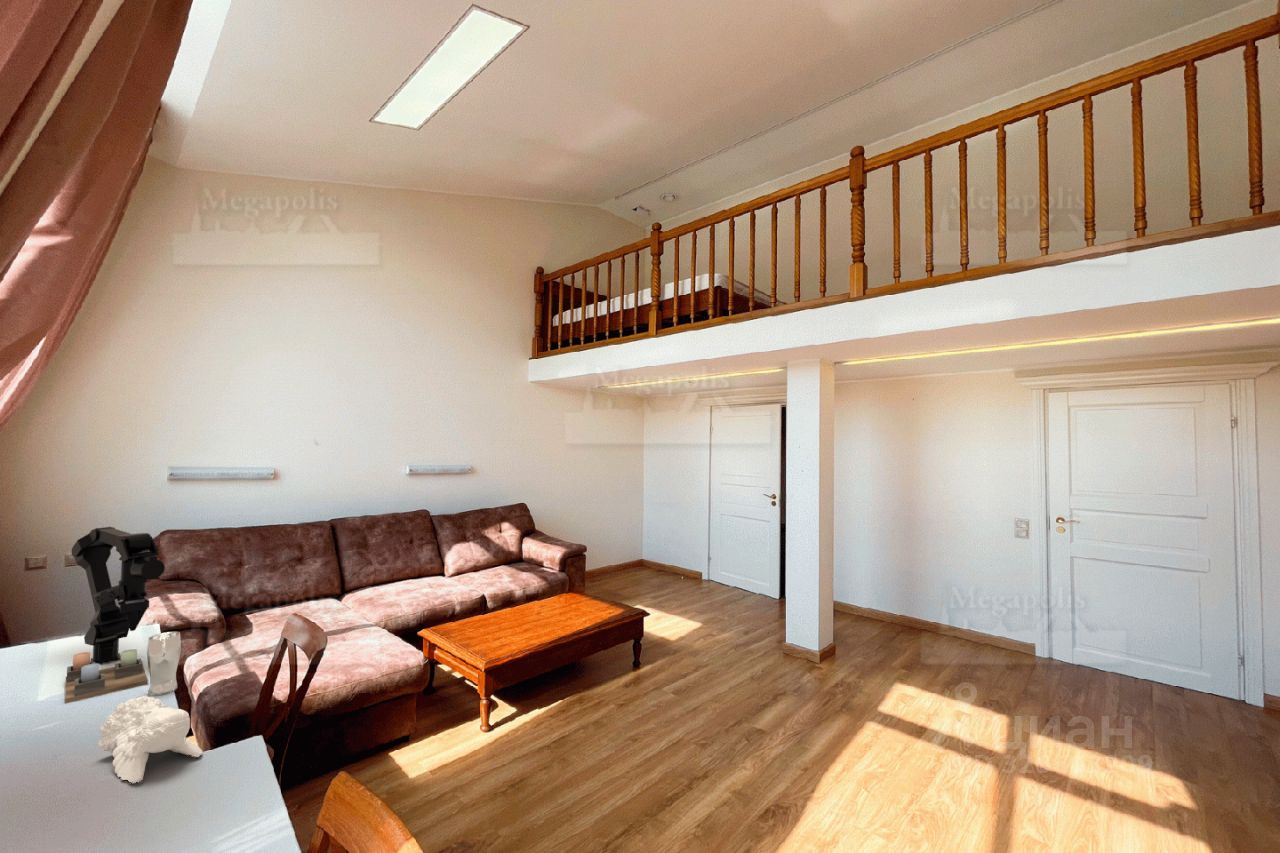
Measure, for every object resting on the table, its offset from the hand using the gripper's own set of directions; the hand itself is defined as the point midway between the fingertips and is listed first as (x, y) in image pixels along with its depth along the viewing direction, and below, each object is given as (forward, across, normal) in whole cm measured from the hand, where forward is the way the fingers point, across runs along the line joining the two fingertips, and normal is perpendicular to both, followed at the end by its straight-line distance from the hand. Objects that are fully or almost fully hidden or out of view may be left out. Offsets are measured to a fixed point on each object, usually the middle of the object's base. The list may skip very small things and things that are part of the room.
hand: (131, 627), depth 164 cm
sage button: (+9, +9, -1) cm, 13 cm away
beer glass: (+12, +27, +5) cm, 30 cm away
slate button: (+9, +15, -9) cm, 20 cm away
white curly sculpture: (+12, +67, 0) cm, 68 cm away
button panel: (+12, +9, -5) cm, 16 cm away
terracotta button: (+9, +2, -10) cm, 14 cm away
